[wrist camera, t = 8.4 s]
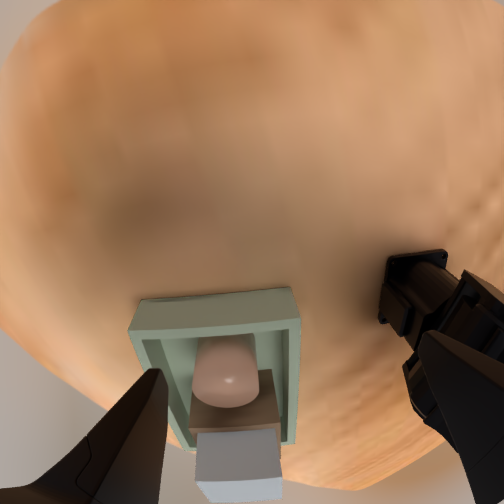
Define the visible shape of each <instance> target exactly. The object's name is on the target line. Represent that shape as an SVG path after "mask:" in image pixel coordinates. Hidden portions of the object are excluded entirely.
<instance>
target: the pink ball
mask: <svg viewBox="0 0 504 504" xmlns="http://www.w3.org/2000/svg"><path fill="white" fill-rule="evenodd" d="M192 391H193V393H194V395H195V396H196V397H197V398H198V399H199V400H201V401H202V402H204V403H206V404H209V405H212V406H216V407H222V408H232V407H239V406H243V405H245V404H248V403H250V402H251V401H253V400H254V399H255V398H256V397H257V395H258V393H259V380H258V368H257V355H256V343H255V336H254V334H253V333H247V334H236V335H224V336H210V337H198V344H197V351H196V359H195V366H194V374H193V382H192Z"/></svg>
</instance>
